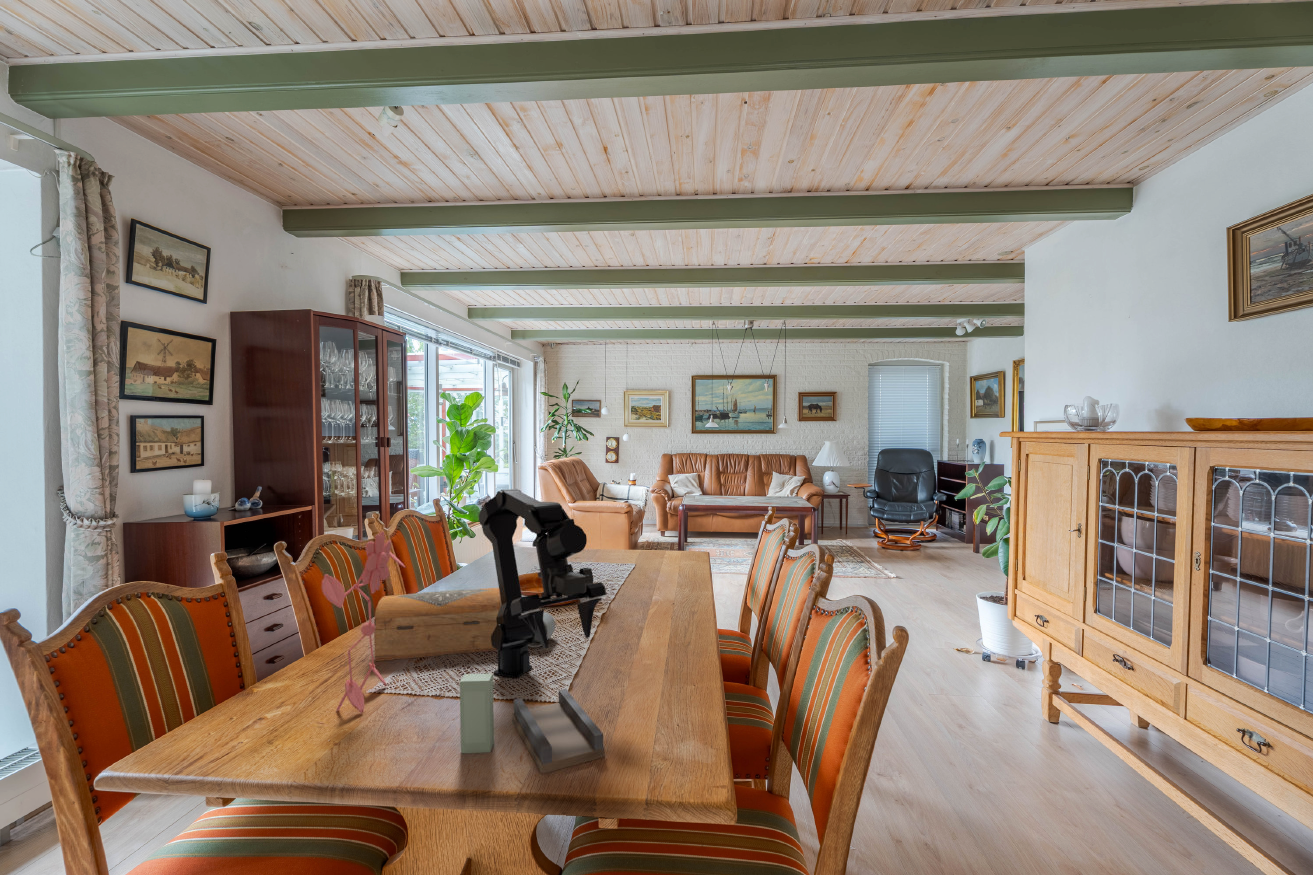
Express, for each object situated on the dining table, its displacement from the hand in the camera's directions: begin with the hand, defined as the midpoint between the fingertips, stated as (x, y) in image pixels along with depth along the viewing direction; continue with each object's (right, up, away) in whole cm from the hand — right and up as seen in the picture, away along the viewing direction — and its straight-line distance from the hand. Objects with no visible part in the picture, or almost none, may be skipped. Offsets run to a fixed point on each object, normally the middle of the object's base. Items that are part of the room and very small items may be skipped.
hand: (567, 642), depth 116 cm
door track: (-1, -14, -9) cm, 17 cm away
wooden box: (-38, -14, +39) cm, 57 cm away
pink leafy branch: (-40, -15, +7) cm, 43 cm away
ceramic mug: (-15, -14, +40) cm, 45 cm away
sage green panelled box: (-14, -14, -12) cm, 23 cm away
